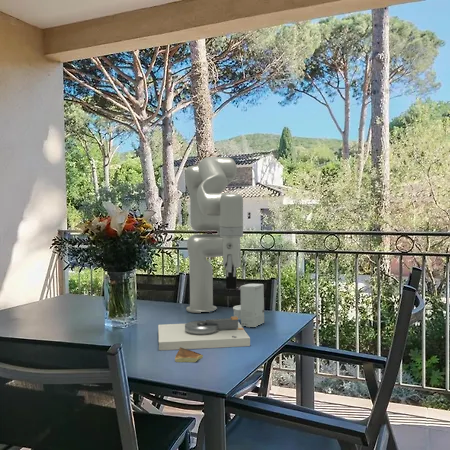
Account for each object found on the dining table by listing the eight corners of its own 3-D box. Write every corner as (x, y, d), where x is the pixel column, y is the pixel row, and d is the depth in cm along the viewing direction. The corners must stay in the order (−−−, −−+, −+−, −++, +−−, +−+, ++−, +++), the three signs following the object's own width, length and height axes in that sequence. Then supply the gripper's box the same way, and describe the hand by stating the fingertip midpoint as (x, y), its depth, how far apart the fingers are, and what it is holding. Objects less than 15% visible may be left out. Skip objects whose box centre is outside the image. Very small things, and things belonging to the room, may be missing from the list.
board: (158, 331, 169) (158, 323, 169) (238, 328, 173) (238, 320, 173) (158, 350, 147) (158, 341, 147) (250, 346, 151) (250, 337, 151)
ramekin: (260, 319, 186) (260, 308, 186) (239, 322, 183) (239, 310, 183) (249, 315, 195) (249, 304, 194) (229, 317, 191) (229, 306, 191)
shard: (180, 352, 147) (180, 346, 147) (205, 352, 147) (205, 346, 147) (173, 363, 137) (173, 357, 136) (201, 364, 136) (201, 358, 136)
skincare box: (254, 328, 173) (254, 286, 172) (239, 326, 176) (239, 285, 175) (264, 323, 180) (264, 283, 180) (250, 321, 183) (250, 282, 182)
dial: (187, 335, 154) (187, 323, 153) (182, 327, 164) (182, 316, 164) (241, 332, 157) (241, 320, 157) (233, 324, 168) (233, 313, 168)
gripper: (240, 234, 150) (240, 293, 151) (244, 230, 165) (244, 284, 166) (216, 234, 151) (216, 292, 152) (222, 230, 166) (222, 284, 167)
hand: (231, 288), depth 159 cm, fingers closed
